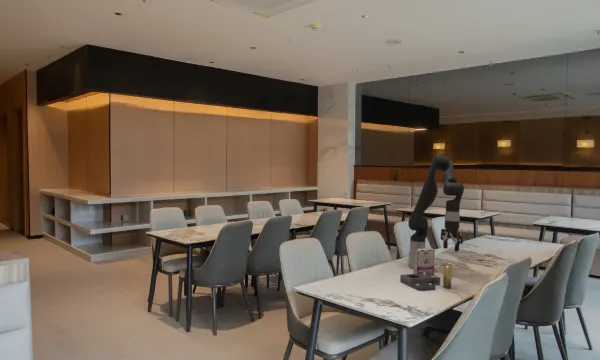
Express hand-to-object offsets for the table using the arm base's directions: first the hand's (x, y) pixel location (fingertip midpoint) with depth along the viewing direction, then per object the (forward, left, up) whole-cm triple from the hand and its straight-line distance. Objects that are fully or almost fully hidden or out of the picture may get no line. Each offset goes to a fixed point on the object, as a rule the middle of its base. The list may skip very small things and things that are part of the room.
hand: (450, 249), depth 238 cm
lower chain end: (-7, -15, -21) cm, 27 cm away
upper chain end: (-11, -11, -21) cm, 26 cm away
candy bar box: (-23, 0, -21) cm, 31 cm away
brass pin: (0, -1, -21) cm, 21 cm away
